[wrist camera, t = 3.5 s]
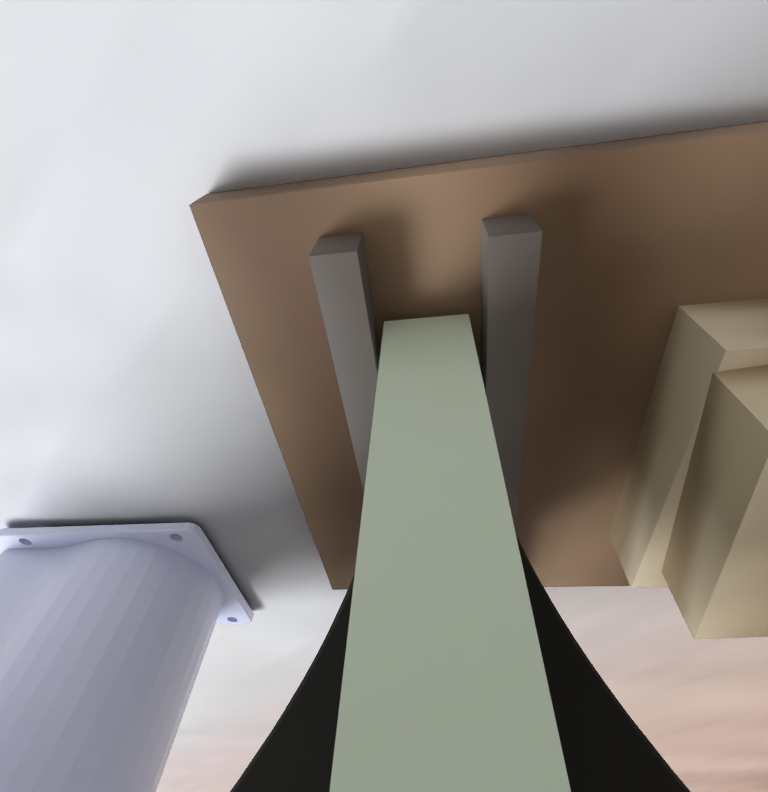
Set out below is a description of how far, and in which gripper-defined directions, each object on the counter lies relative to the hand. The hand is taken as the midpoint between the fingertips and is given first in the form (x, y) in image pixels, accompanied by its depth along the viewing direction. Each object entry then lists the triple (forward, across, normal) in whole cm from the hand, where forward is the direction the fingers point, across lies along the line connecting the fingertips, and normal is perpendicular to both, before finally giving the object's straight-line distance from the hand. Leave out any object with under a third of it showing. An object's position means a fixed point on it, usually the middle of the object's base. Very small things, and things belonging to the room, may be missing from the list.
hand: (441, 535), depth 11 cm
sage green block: (+2, 0, 0) cm, 2 cm away
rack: (+4, -3, 0) cm, 5 cm away
